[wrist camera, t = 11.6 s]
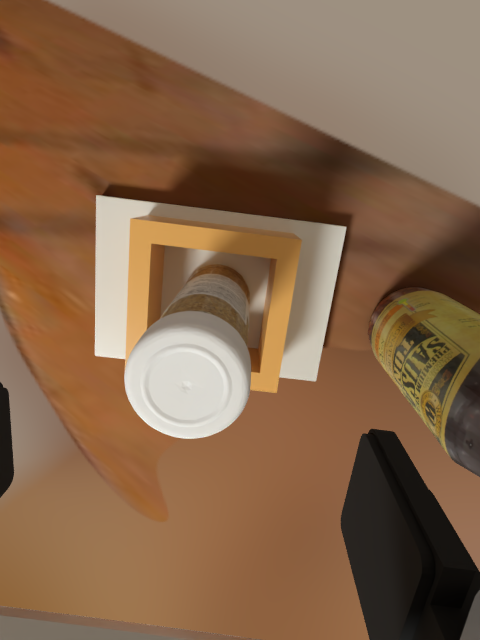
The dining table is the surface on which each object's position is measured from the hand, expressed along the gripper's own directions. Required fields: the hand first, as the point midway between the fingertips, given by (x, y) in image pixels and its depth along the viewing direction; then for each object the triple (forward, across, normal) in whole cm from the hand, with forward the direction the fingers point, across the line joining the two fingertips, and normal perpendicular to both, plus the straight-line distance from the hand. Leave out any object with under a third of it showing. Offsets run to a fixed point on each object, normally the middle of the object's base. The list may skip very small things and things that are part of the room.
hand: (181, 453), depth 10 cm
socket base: (+18, +1, 0) cm, 18 cm away
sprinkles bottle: (+17, +1, 0) cm, 17 cm away
